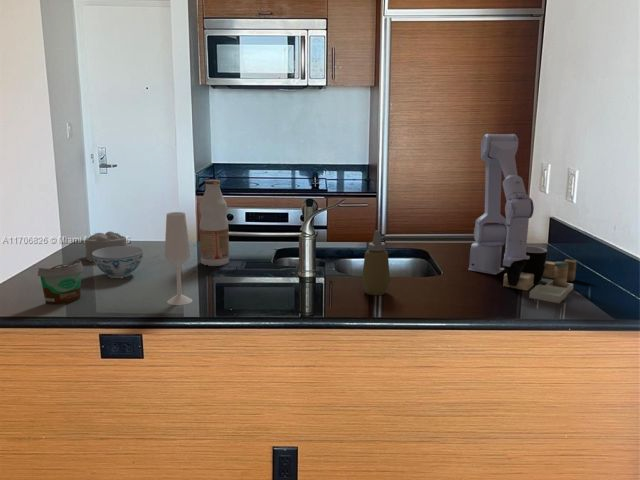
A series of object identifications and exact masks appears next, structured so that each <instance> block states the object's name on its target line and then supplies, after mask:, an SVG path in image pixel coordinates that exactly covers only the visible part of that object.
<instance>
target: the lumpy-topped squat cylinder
mask: <svg viewBox="0 0 640 480" xmlns="http://www.w3.org/2000/svg"><path fill="white" fill-rule="evenodd" d="M84 244H85V257H86V258H85V259H86V261H87V260H94V259H93V256H92V252H94V251H96V250H98V249H102V248H107V247H116V246H128V244H127V237H126V236H123V235H121V234H119V232H114V231H107V232H105V233H104V232H103V233H102V232H95V233H94V234H91V235H90V236H89V237H88V238H86V239H84Z"/></svg>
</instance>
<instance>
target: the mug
mask: <svg viewBox="0 0 640 480" xmlns="http://www.w3.org/2000/svg"><path fill="white" fill-rule="evenodd" d="M526 251H527V252H526V255H527V256H530V259H524V260H520V261H526V265H525V266H524V268H523V270H522V272H524V273H530V274H534V282H533V285H538V284H540V283H541V281H542V280H543V279H542V278H543V277H542V276H543V273H544V269H545V264H546V261H547V257H548V250H547V249H546V248H543V247H539V246H533V245H527V246H526Z"/></svg>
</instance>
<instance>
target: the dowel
mask: <svg viewBox="0 0 640 480" xmlns="http://www.w3.org/2000/svg"><path fill="white" fill-rule="evenodd" d="M554 262H555V270H554V278H553V286H558V287H563V288H566V284H567V283H568V281H567V274H568V263H567V262H564V261H554Z"/></svg>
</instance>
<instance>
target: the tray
mask: <svg viewBox="0 0 640 480" xmlns="http://www.w3.org/2000/svg"><path fill="white" fill-rule="evenodd" d="M567 290H568V289H562V288H556V287H551V286H546V284H545V285H543V284H540V283H538V284H536V285H535V287H533V288H532V289H531V290H529V296H528V297H529V299H535V300H538V301H544V302H549V303H555V304H560V303H561V302H562V301H564V299H566V298H567V296H568V294H567Z"/></svg>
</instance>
